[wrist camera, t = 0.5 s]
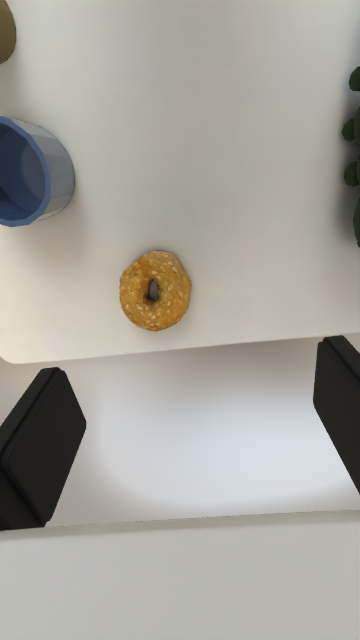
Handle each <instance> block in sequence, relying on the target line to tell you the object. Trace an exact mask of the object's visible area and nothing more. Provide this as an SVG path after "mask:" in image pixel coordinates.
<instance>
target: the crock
mask: <svg viewBox="0 0 360 640" xmlns="http://www.w3.org/2000/svg"><path fill="white" fill-rule="evenodd" d="M74 187H75V173H74V168H73V165H72V162H71V159H70V157H69V155H68V153H67V151H66V149H65V148H64V147H63V145H62V144H61V143H60V142H59V140H58V139H57V138H56V137H55V136H53V135H52V134H51V133H50V132H48V131H47V130H45V129H43V128H42V127H40V126H37V125H34V124H30V123H27V122H23V121H20V120H16V119H12V118H9V117H5V116H1V115H0V224H1V225H5V226H9V227H15V226H22V225H29V224H31V223H34V222H37V221H40V220H42V219H45V218H48V217H50V216H53V215H55V214H56V213H58V212H60V211H61V210H63V209H64V208H65V207H66V206H67V205H68V203H69V202H70V200H71V198H72V195H73V192H74Z"/></svg>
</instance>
